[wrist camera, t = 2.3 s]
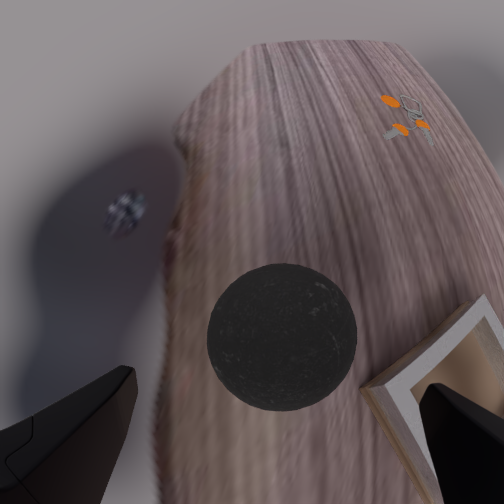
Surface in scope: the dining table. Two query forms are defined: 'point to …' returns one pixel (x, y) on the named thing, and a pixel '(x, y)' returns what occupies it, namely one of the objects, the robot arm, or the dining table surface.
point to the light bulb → (282, 337)
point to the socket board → (453, 376)
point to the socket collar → (419, 365)
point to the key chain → (419, 123)
